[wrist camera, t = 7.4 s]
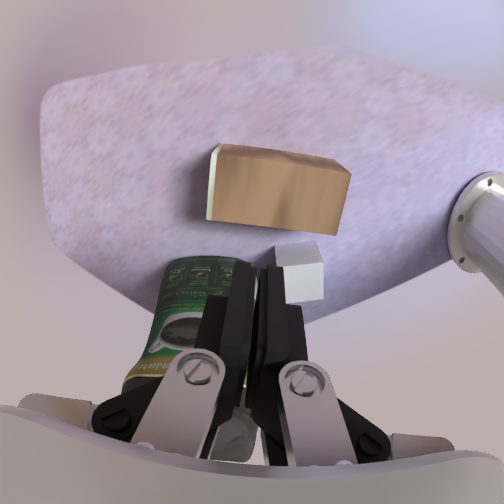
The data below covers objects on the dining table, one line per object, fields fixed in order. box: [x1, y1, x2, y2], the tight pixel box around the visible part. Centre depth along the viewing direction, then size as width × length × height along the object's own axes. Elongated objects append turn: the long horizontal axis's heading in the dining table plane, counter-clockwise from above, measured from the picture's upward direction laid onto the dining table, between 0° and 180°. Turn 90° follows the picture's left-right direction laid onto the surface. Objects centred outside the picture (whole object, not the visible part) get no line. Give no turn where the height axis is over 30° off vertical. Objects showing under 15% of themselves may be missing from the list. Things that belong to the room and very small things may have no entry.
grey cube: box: [275, 241, 324, 303], centre depth 28 cm, size 4×4×4 cm
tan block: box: [206, 143, 351, 236], centre depth 24 cm, size 5×5×10 cm
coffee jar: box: [121, 256, 258, 462], centre depth 23 cm, size 10×8×19 cm
